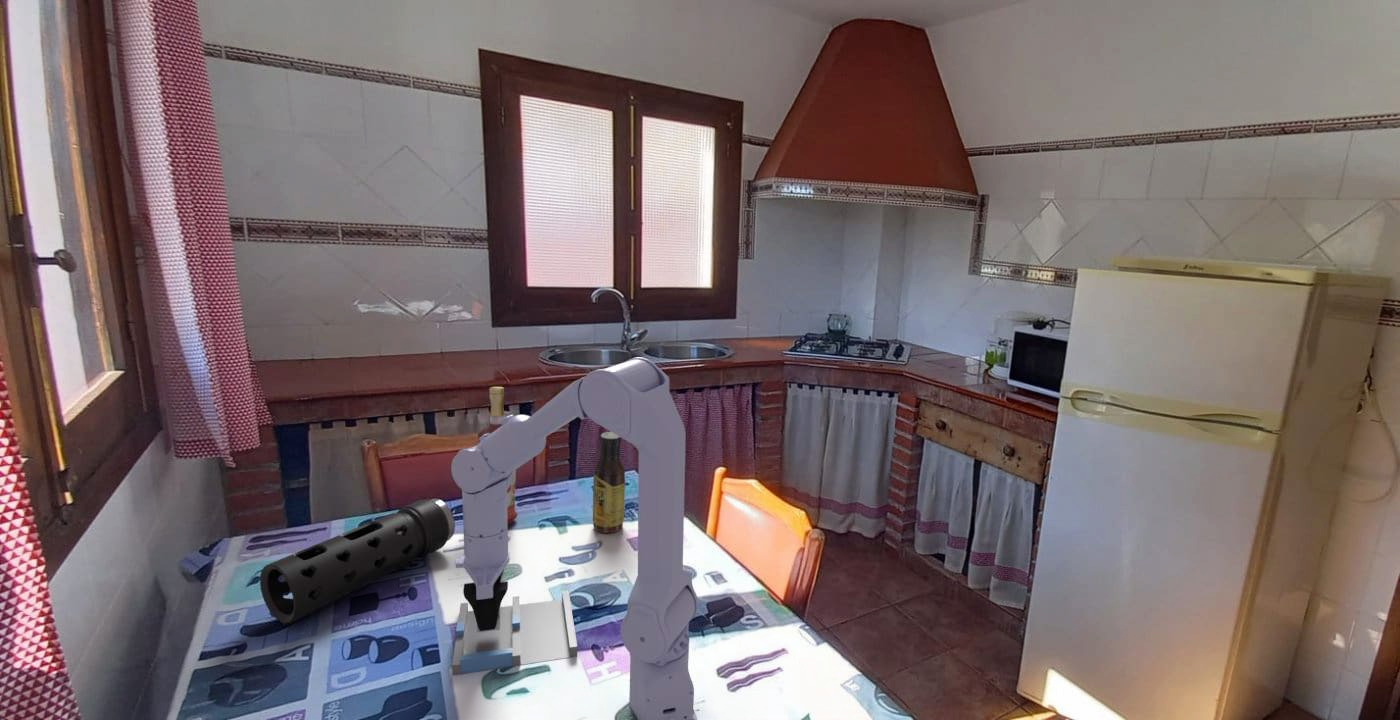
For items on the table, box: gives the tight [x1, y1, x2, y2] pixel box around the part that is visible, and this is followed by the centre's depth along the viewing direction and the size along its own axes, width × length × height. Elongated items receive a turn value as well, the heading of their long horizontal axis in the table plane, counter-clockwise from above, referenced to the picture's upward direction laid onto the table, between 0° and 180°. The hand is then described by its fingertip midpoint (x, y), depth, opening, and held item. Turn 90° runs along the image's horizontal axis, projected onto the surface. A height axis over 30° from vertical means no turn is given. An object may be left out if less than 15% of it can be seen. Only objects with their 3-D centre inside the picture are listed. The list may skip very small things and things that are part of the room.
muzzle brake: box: [259, 498, 456, 627], centre depth 100 cm, size 10×28×10 cm, turn 152°
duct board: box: [451, 589, 578, 677], centre depth 88 cm, size 14×16×3 cm
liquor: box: [477, 386, 518, 526], centre depth 121 cm, size 7×7×28 cm
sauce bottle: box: [592, 431, 626, 534], centre depth 121 cm, size 7×6×20 cm
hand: (488, 616), depth 86 cm, fingers closed on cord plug, 5 cm apart
